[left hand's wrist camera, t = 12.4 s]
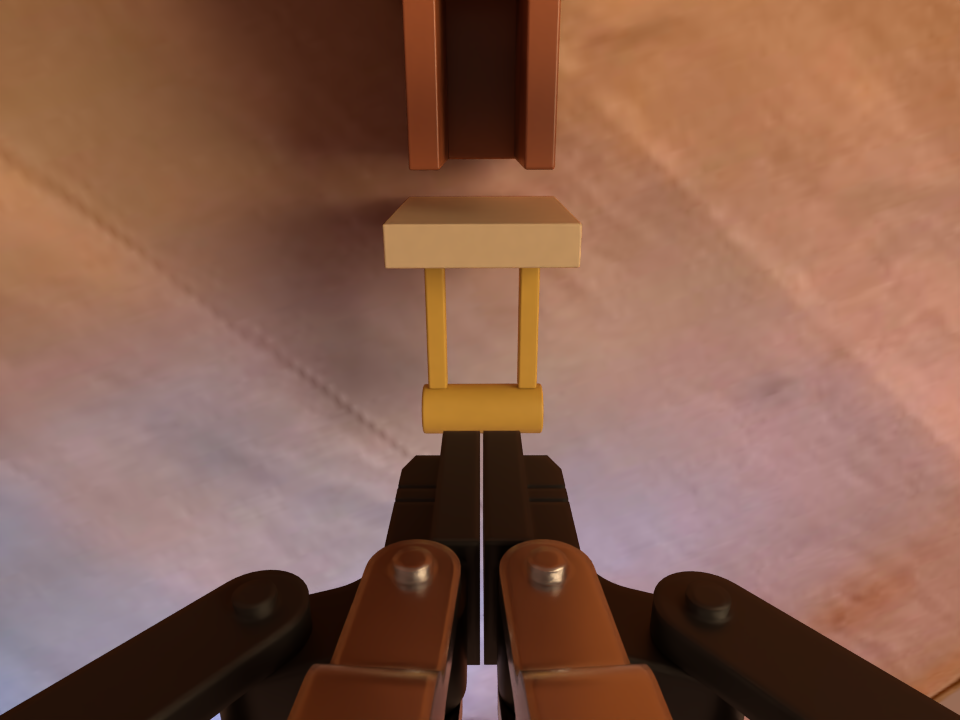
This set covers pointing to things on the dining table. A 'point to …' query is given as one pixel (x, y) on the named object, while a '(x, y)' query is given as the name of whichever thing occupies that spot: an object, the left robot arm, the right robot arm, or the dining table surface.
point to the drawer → (490, 219)
